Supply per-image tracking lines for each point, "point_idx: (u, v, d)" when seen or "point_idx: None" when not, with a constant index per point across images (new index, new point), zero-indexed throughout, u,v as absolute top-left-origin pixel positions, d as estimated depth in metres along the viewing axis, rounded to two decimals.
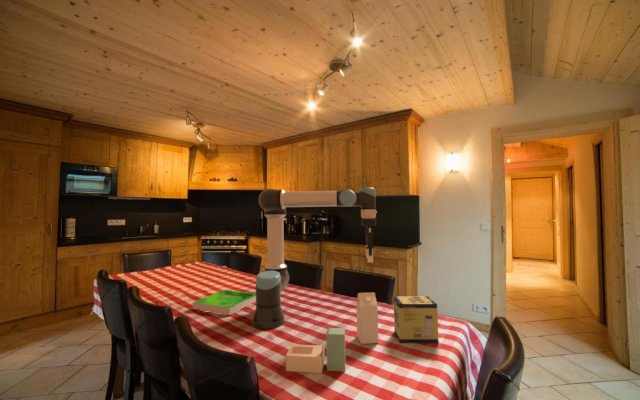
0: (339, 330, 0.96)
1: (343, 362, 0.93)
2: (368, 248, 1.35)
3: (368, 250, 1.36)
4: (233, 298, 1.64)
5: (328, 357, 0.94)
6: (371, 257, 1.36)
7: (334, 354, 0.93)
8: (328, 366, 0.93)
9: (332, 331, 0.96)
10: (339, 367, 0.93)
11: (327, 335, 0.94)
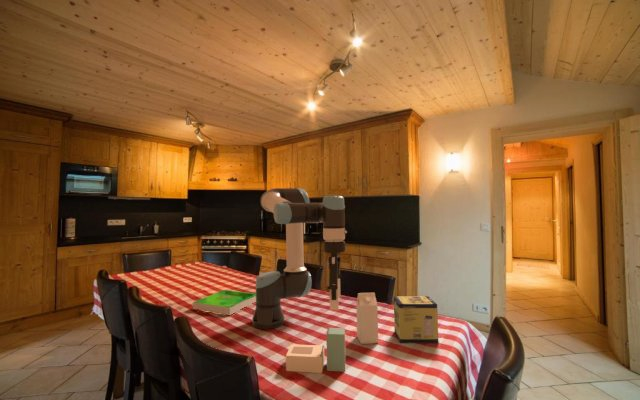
0: (339, 330, 0.96)
1: (343, 362, 0.93)
2: (330, 289, 0.89)
3: None
4: (233, 298, 1.64)
5: (328, 357, 0.94)
6: (335, 302, 0.89)
7: (334, 354, 0.93)
8: (328, 366, 0.93)
9: (332, 331, 0.96)
10: (339, 367, 0.93)
11: (327, 335, 0.94)
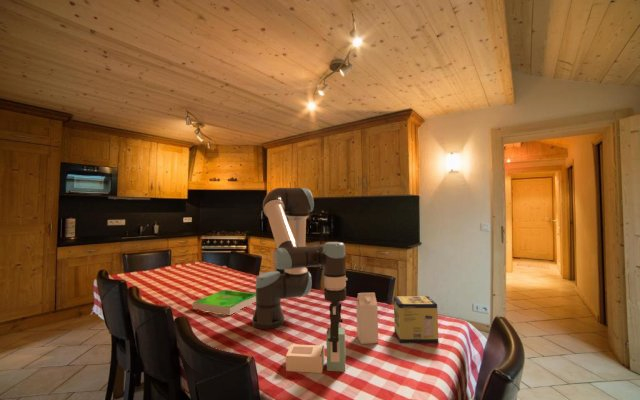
0: (339, 330, 0.96)
1: (343, 362, 0.93)
2: None
3: None
4: (233, 298, 1.64)
5: (328, 357, 0.94)
6: (336, 354, 0.89)
7: None
8: (328, 366, 0.93)
9: None
10: (339, 367, 0.93)
11: (327, 335, 0.94)
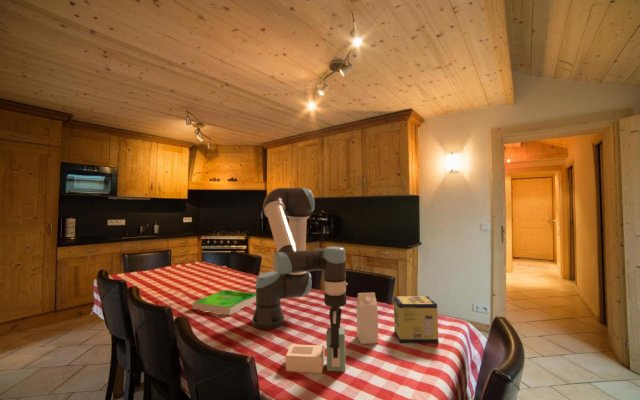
0: (339, 330, 0.96)
1: (343, 362, 0.93)
2: None
3: (332, 349, 0.93)
4: (233, 298, 1.64)
5: (328, 356, 0.94)
6: (337, 359, 0.92)
7: None
8: (328, 366, 0.93)
9: None
10: (339, 367, 0.93)
11: (327, 335, 0.94)
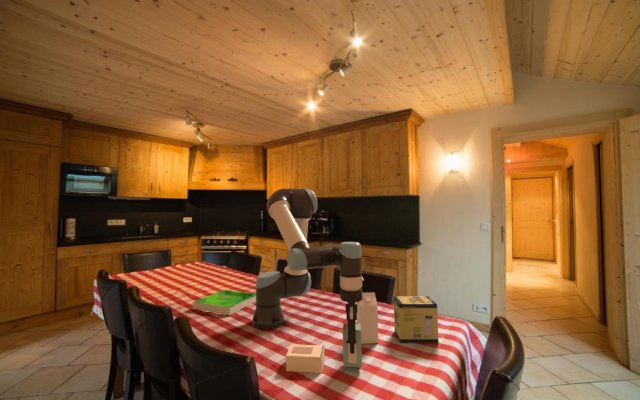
0: (355, 326, 0.96)
1: (360, 358, 0.92)
2: None
3: (349, 344, 0.92)
4: (233, 298, 1.64)
5: (344, 352, 0.93)
6: (353, 355, 0.92)
7: None
8: (344, 362, 0.93)
9: None
10: (355, 363, 0.92)
11: (343, 331, 0.93)
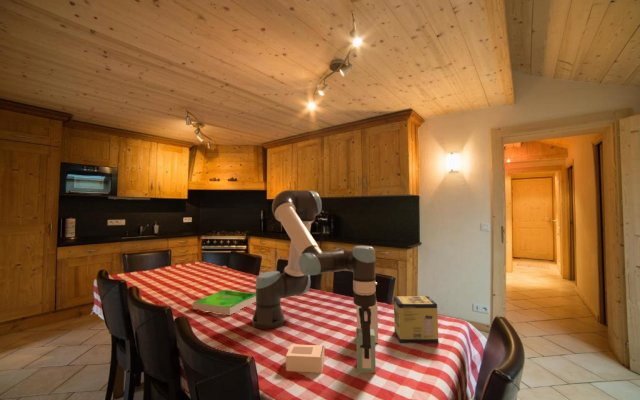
0: None
1: (374, 363, 0.92)
2: None
3: (363, 349, 0.88)
4: (233, 298, 1.64)
5: (358, 358, 0.92)
6: (368, 360, 0.88)
7: None
8: (358, 367, 0.92)
9: None
10: (369, 368, 0.92)
11: (357, 336, 0.93)
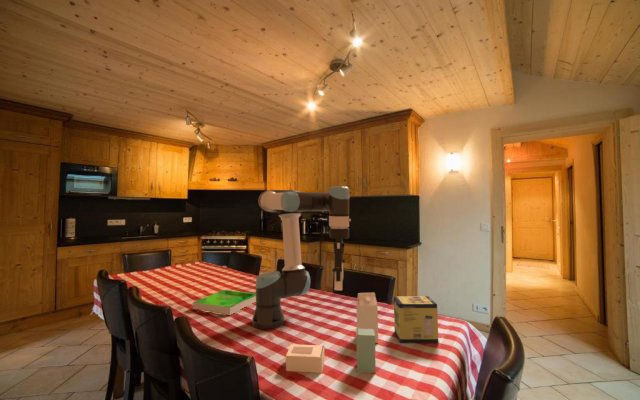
0: (368, 331, 0.95)
1: (374, 363, 0.92)
2: (335, 271, 0.97)
3: (335, 273, 0.98)
4: (233, 298, 1.64)
5: (358, 358, 0.92)
6: (339, 283, 0.98)
7: (364, 355, 0.92)
8: (358, 367, 0.92)
9: (362, 332, 0.95)
10: (369, 368, 0.92)
11: (357, 336, 0.93)
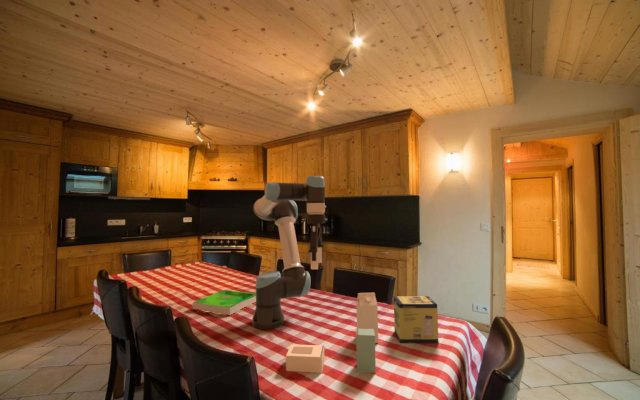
0: (368, 331, 0.95)
1: (374, 363, 0.92)
2: (311, 251, 1.07)
3: (311, 254, 1.08)
4: (233, 298, 1.64)
5: (358, 358, 0.92)
6: (315, 263, 1.08)
7: (364, 355, 0.92)
8: (358, 367, 0.92)
9: (362, 332, 0.95)
10: (369, 368, 0.92)
11: (357, 336, 0.93)
